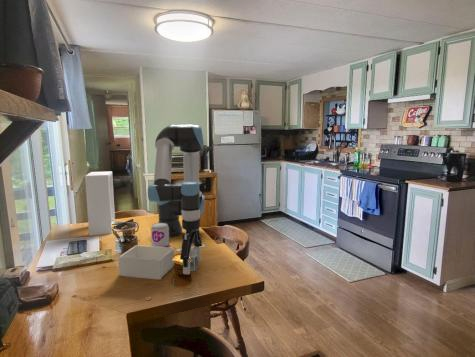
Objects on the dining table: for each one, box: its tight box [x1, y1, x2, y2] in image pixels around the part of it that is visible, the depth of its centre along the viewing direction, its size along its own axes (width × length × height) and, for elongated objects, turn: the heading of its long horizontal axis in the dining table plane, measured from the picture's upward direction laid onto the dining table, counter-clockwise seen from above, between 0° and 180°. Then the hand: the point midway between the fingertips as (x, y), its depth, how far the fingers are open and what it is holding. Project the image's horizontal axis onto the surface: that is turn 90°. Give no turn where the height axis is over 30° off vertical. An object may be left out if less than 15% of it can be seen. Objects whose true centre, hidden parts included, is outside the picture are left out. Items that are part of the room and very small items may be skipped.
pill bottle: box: [189, 248, 199, 272], centre depth 129 cm, size 5×5×8 cm
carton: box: [117, 244, 175, 281], centre depth 128 cm, size 14×19×8 cm
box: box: [84, 170, 116, 236], centre depth 185 cm, size 22×12×35 cm, turn 17°
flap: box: [109, 255, 158, 260], centre depth 117 cm, size 7×16×1 cm, turn 79°
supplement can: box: [150, 222, 171, 248], centre depth 144 cm, size 8×8×15 cm
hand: (192, 267), depth 130 cm, fingers open, 13 cm apart
